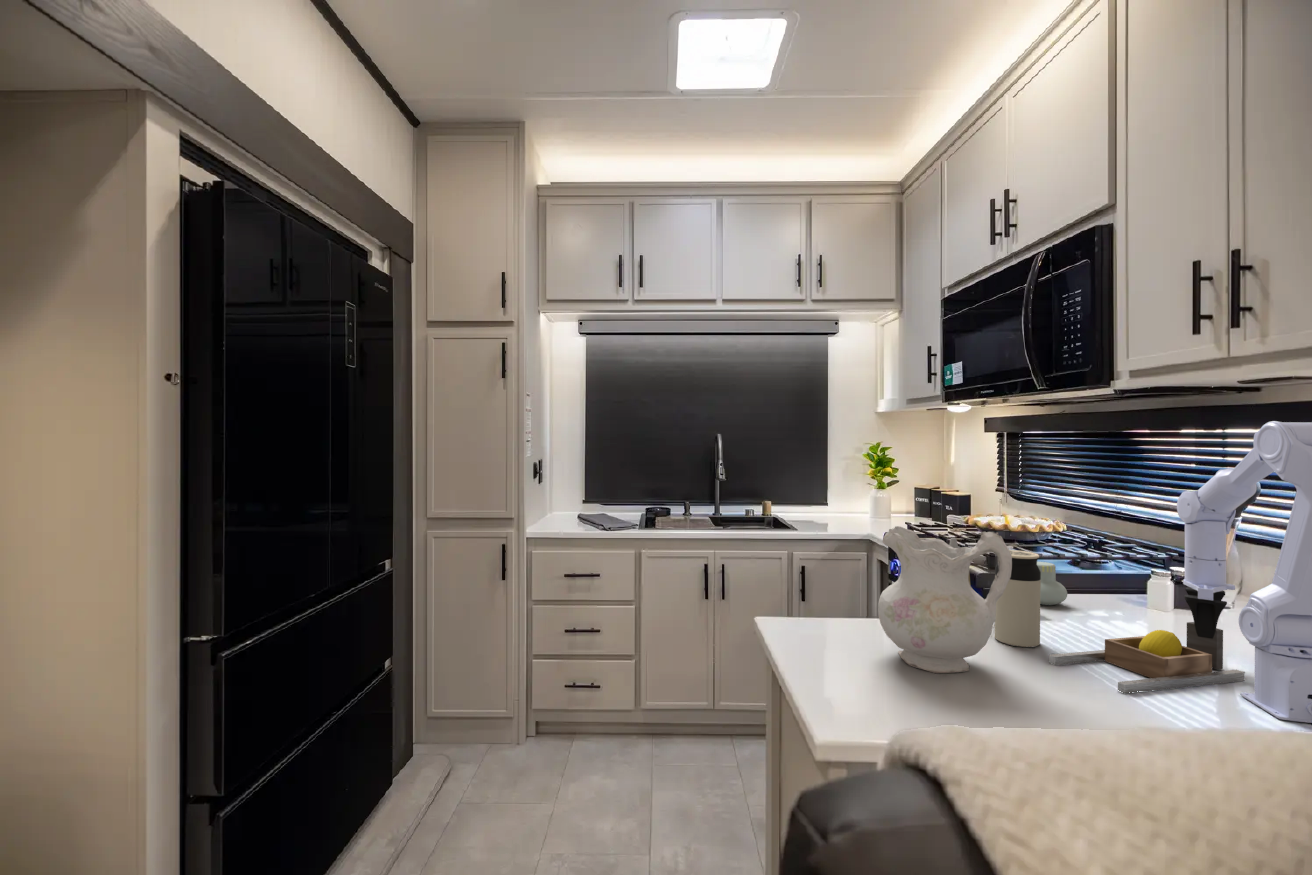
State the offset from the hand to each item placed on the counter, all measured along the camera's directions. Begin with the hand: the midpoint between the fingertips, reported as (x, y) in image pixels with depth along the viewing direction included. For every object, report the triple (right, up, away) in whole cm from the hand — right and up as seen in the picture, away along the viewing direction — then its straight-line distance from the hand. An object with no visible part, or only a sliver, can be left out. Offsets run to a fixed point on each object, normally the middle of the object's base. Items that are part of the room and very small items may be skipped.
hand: (1204, 632), depth 112 cm
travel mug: (-27, -6, +12) cm, 30 cm away
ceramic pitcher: (-48, -6, 0) cm, 49 cm away
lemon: (-13, -5, -3) cm, 14 cm away
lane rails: (-15, -6, -4) cm, 16 cm away
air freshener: (-2, -7, +44) cm, 44 cm away
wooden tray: (-8, -6, -2) cm, 10 cm away
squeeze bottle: (-31, -6, +31) cm, 44 cm away
